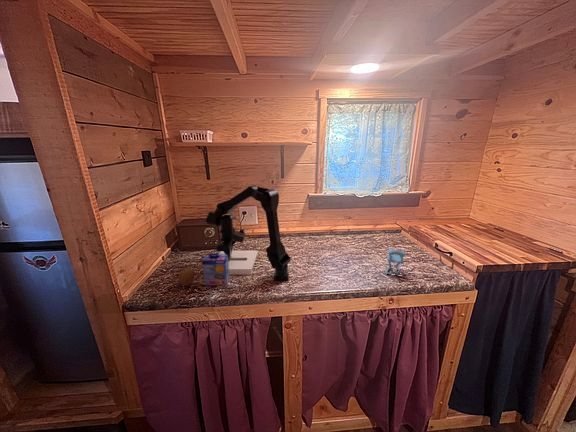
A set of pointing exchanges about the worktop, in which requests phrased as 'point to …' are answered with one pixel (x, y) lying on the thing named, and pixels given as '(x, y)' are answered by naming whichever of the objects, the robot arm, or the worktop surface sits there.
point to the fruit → (186, 277)
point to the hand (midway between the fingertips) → (229, 256)
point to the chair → (395, 259)
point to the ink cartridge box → (215, 269)
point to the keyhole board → (241, 262)
